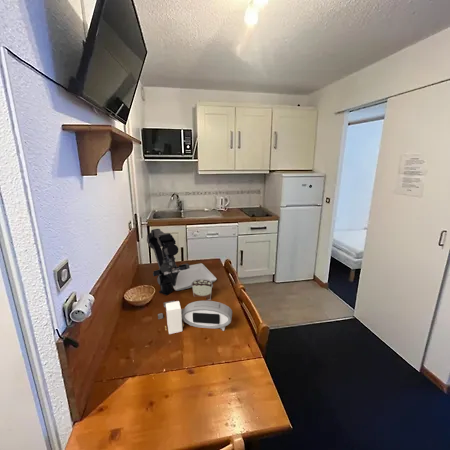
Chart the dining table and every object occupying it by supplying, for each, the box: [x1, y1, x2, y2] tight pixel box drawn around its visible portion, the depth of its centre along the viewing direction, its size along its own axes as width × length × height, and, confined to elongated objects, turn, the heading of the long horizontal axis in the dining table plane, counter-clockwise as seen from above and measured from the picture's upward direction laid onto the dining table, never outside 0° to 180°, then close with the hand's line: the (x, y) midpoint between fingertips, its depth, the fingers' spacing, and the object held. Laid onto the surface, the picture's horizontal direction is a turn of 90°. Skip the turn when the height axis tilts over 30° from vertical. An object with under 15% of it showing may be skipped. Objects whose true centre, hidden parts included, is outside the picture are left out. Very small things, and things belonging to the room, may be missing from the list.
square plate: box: [172, 262, 217, 292], centre depth 164 cm, size 27×27×4 cm
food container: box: [191, 279, 214, 301], centre depth 143 cm, size 12×6×10 cm, turn 84°
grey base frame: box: [157, 300, 185, 331], centre depth 125 cm, size 26×13×3 cm, turn 19°
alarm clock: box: [181, 300, 233, 332], centre depth 118 cm, size 23×6×13 cm, turn 83°
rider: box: [165, 300, 183, 335], centre depth 114 cm, size 6×6×13 cm
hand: (174, 285), depth 133 cm, fingers closed
